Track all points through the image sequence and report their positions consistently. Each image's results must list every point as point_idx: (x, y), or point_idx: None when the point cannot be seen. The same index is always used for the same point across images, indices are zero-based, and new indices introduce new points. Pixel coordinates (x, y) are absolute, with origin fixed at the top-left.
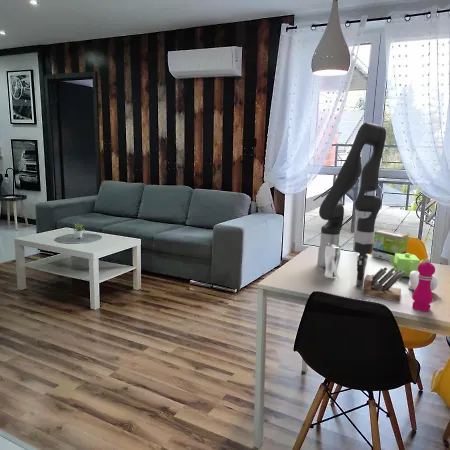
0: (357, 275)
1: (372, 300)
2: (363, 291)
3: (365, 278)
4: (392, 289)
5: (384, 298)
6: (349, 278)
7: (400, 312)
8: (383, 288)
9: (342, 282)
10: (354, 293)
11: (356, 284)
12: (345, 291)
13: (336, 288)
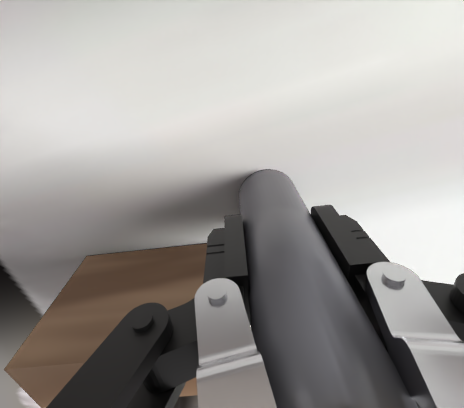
0: (260, 228)
1: (43, 312)
2: (76, 275)
3: (55, 370)
4: None
5: None
6: (451, 54)
7: (20, 399)
8: None
9: (267, 25)
10: (56, 210)
11: (251, 179)
12: (31, 140)
13: (23, 31)
